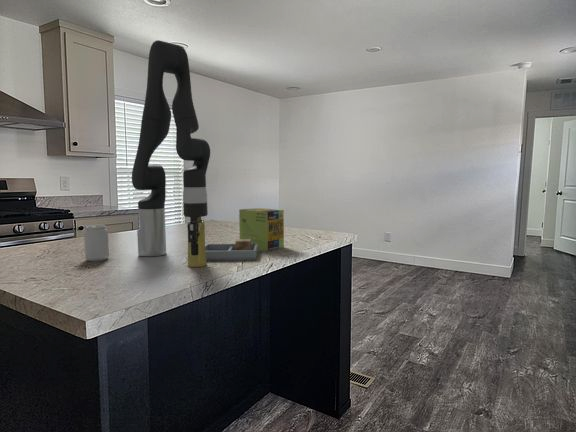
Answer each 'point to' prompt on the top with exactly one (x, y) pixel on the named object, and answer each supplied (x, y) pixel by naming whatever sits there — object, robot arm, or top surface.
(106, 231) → the can
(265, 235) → the protein box
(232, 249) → the tray
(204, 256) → the vase
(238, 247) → the walnut cube
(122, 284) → the top surface
